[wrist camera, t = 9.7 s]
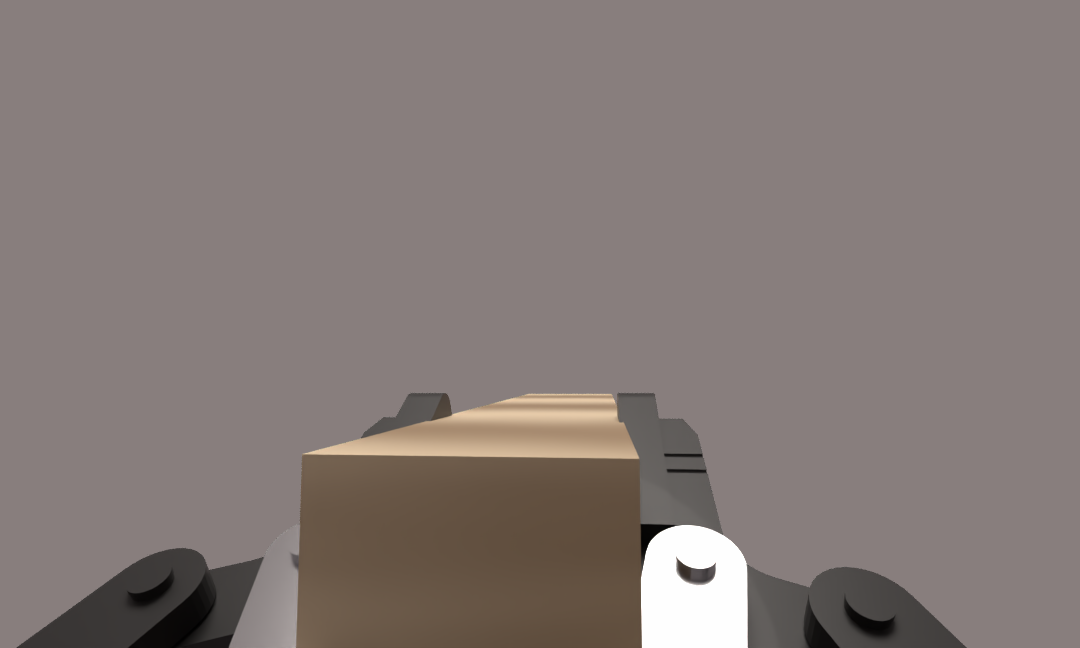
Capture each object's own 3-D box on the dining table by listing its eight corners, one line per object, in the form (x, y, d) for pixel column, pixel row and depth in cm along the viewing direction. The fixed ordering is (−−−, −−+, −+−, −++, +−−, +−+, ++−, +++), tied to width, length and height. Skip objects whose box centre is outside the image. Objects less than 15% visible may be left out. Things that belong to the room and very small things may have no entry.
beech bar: (528, 477, 25) (528, 394, 25) (612, 479, 24) (611, 394, 25) (290, 810, 6) (302, 454, 6) (645, 838, 6) (639, 458, 6)
